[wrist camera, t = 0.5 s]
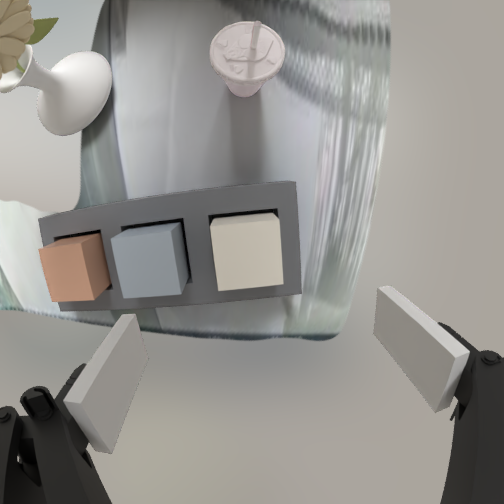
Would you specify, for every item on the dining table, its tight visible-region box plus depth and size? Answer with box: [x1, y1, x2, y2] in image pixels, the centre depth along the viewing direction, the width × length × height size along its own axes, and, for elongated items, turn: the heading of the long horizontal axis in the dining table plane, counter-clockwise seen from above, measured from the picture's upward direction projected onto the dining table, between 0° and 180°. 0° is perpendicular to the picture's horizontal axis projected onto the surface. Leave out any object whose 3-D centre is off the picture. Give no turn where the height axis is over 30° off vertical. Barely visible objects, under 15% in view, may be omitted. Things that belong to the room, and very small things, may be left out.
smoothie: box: [209, 21, 285, 97], centre depth 22 cm, size 6×6×14 cm
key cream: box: [210, 212, 283, 291], centre depth 28 cm, size 6×6×5 cm
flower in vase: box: [0, 0, 112, 136], centre depth 15 cm, size 13×11×25 cm
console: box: [38, 181, 302, 311], centre depth 31 cm, size 12×30×4 cm, turn 95°
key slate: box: [111, 222, 189, 298], centre depth 28 cm, size 6×6×5 cm
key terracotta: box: [38, 233, 112, 302], centre depth 28 cm, size 6×6×5 cm
